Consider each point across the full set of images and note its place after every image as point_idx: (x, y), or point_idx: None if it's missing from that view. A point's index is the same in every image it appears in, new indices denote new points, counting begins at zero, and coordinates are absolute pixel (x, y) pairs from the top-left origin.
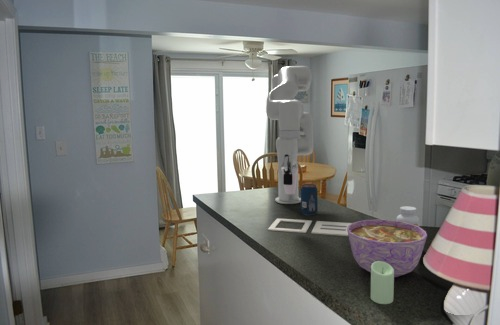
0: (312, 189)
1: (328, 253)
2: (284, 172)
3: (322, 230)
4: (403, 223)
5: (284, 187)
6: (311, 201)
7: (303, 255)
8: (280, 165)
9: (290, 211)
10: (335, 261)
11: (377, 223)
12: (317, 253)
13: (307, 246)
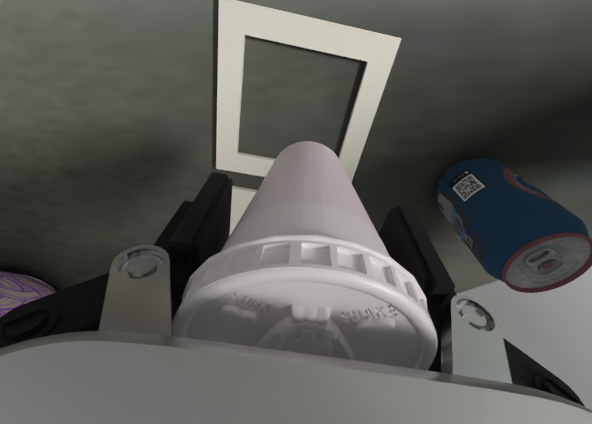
0: (492, 268)
1: (66, 216)
2: (116, 274)
3: (238, 215)
4: None
5: (298, 154)
6: (456, 224)
7: (10, 156)
8: (3, 347)
9: (528, 105)
10: (23, 226)
11: None
12: (50, 192)
13: (91, 168)
